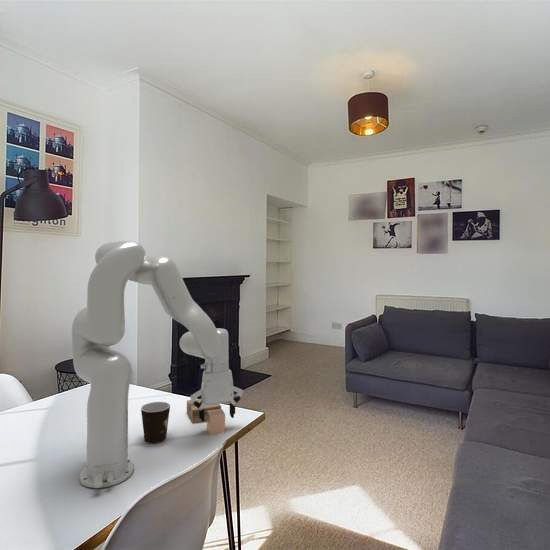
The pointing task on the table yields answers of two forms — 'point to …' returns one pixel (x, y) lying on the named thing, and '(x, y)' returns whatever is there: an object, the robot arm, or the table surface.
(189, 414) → the walnut box
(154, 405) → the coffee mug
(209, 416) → the terracotta cube
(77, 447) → the table surface
